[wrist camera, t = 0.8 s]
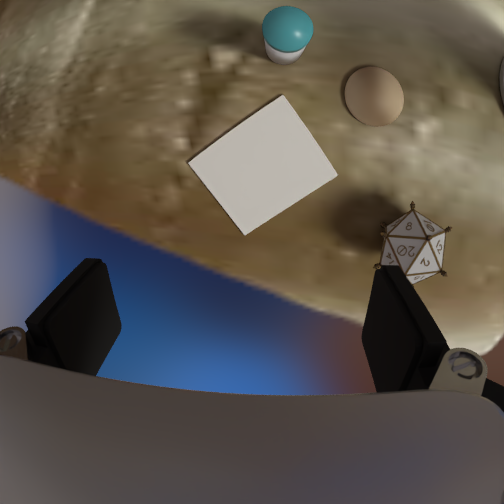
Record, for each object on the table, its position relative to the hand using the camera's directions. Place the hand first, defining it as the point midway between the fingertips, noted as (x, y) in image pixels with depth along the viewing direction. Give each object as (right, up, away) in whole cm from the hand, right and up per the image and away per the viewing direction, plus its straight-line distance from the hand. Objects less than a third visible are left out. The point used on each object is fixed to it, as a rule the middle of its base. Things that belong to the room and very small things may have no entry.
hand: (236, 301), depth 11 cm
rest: (+13, +17, +18) cm, 28 cm away
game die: (+18, +4, +24) cm, 30 cm away
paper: (+2, +10, +22) cm, 24 cm away
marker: (+4, +22, +16) cm, 27 cm away
